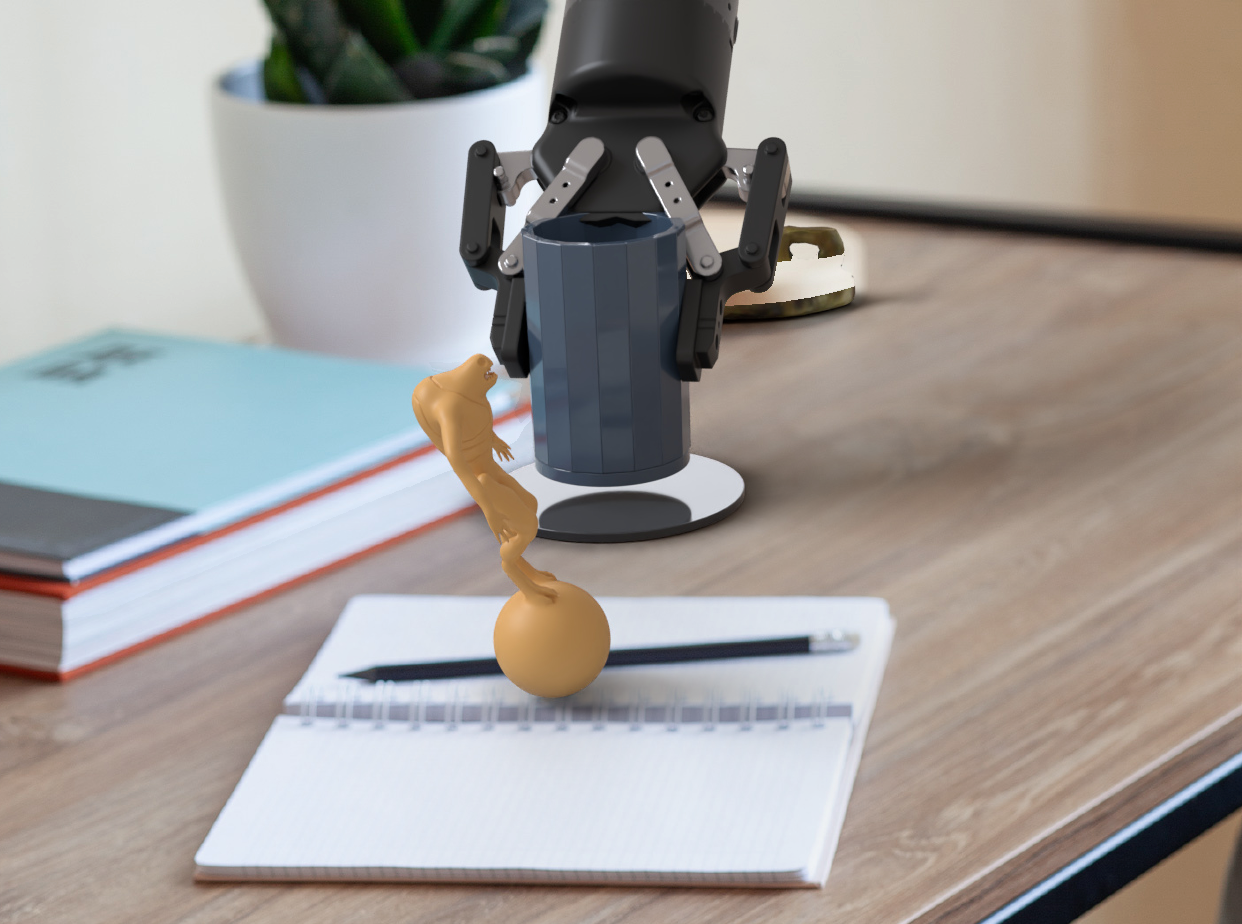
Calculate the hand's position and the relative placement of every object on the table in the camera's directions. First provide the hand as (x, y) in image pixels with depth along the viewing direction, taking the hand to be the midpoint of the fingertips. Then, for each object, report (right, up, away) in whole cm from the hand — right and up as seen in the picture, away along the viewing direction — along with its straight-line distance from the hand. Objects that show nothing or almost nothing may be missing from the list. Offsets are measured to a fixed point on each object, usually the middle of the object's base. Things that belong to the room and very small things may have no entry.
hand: (600, 370), depth 86 cm
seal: (+8, +9, +33) cm, 35 cm away
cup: (+1, -3, +3) cm, 5 cm away
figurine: (-3, -14, -14) cm, 20 cm away
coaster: (+1, -5, +4) cm, 6 cm away
